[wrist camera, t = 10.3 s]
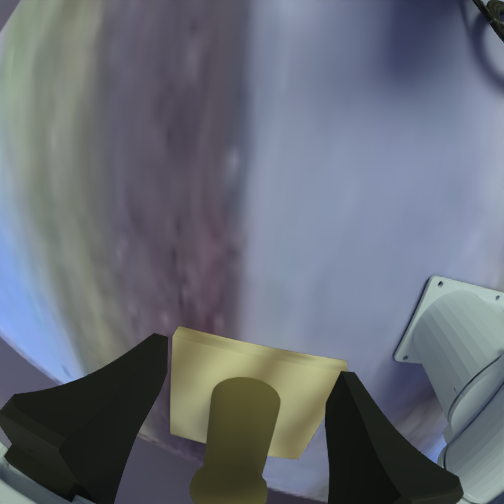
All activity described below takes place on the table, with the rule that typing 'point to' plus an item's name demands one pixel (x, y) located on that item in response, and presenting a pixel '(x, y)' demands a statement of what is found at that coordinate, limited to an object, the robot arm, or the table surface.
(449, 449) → the robot arm
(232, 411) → the cork
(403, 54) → the table surface
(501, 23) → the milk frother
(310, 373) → the birch base board
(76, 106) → the table surface
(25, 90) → the table surface
